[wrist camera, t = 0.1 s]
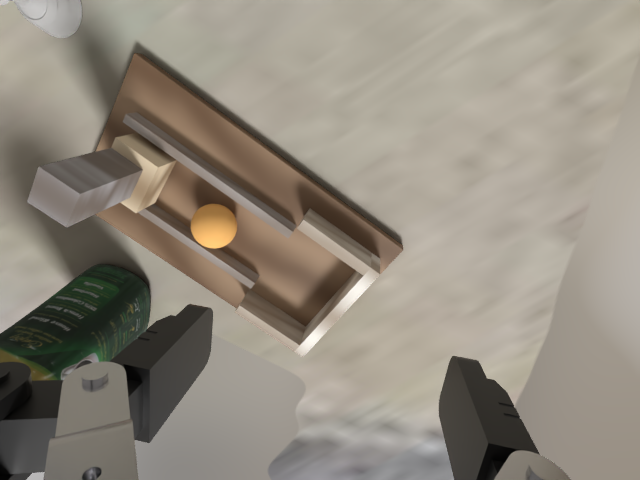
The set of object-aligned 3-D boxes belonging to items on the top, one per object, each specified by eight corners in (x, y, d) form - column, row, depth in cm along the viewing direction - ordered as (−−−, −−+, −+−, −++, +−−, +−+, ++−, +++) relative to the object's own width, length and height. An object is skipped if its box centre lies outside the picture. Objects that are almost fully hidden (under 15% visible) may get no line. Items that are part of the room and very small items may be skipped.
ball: (214, 189, 34) (194, 202, 30) (251, 215, 34) (235, 231, 31) (195, 221, 35) (174, 238, 32) (230, 245, 36) (213, 264, 32)
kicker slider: (137, 132, 32) (42, 153, 23) (176, 160, 33) (98, 191, 24) (118, 177, 34) (23, 213, 25) (155, 202, 35) (75, 246, 26)
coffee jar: (89, 252, 40) (-122, 378, 23) (157, 275, 40) (-6, 418, 23) (88, 321, 44) (-91, 469, 28) (150, 342, 44) (8, 504, 27)
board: (141, 53, 31) (109, 50, 27) (402, 245, 34) (405, 265, 31) (83, 198, 38) (51, 211, 34) (307, 347, 41) (299, 374, 37)
